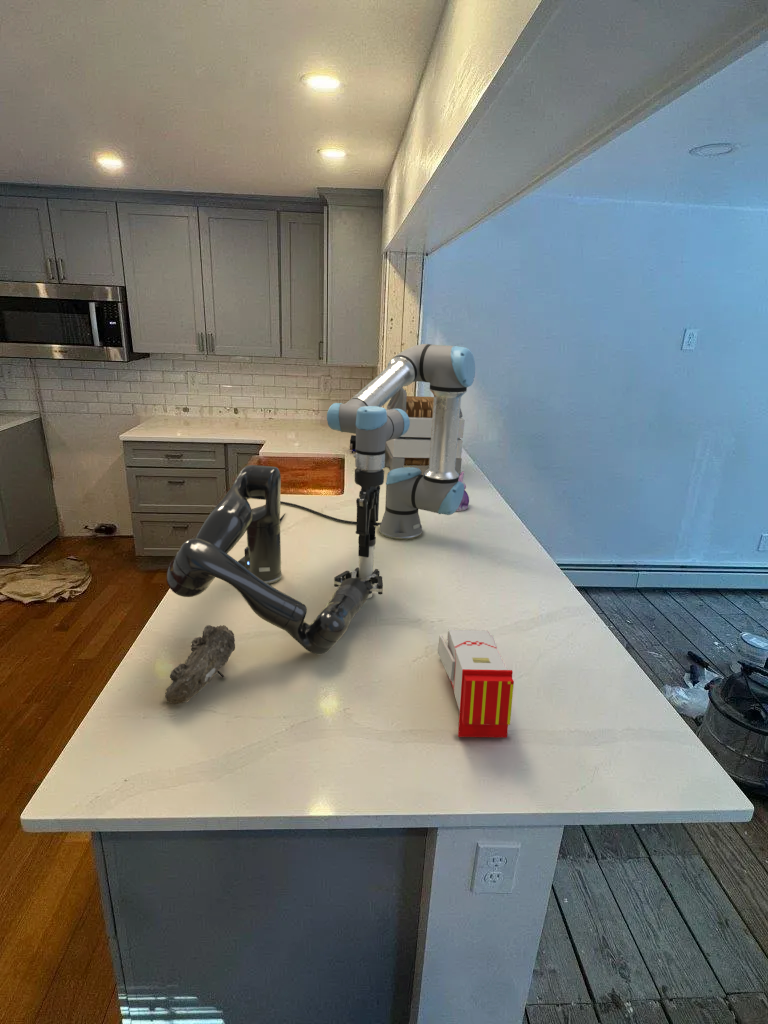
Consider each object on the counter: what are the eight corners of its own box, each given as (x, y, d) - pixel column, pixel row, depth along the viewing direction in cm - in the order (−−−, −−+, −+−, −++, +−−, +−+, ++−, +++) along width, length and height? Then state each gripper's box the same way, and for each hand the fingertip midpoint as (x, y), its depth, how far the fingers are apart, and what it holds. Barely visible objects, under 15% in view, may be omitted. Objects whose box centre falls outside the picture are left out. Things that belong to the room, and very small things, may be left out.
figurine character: (361, 456, 305) (361, 447, 319) (361, 443, 302) (362, 434, 315) (348, 456, 305) (350, 446, 318) (349, 442, 302) (350, 433, 315)
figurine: (455, 513, 222) (459, 476, 217) (441, 505, 231) (444, 469, 226) (475, 510, 226) (479, 474, 221) (460, 502, 235) (464, 467, 230)
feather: (292, 507, 224) (294, 503, 223) (275, 531, 197) (278, 527, 197) (288, 505, 224) (291, 501, 223) (271, 528, 197) (273, 524, 197)
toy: (488, 613, 130) (523, 677, 101) (484, 667, 133) (517, 744, 104) (435, 612, 130) (455, 676, 101) (432, 666, 133) (451, 743, 103)
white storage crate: (382, 463, 289) (386, 382, 275) (445, 464, 293) (451, 384, 279) (390, 482, 257) (394, 392, 243) (460, 483, 261) (468, 394, 247)
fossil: (189, 627, 129) (235, 597, 124) (218, 656, 132) (264, 627, 127) (143, 698, 109) (196, 665, 104) (179, 729, 112) (232, 699, 107)
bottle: (375, 594, 157) (377, 539, 151) (366, 600, 154) (369, 543, 148) (363, 590, 159) (365, 535, 153) (354, 595, 156) (356, 539, 150)
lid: (366, 538, 154) (366, 532, 154) (379, 543, 151) (379, 537, 151) (354, 543, 151) (354, 537, 150) (367, 548, 148) (367, 542, 148)
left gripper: (321, 607, 144) (344, 578, 160) (375, 616, 141) (393, 586, 156) (322, 580, 142) (345, 554, 157) (376, 590, 138) (394, 562, 154)
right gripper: (365, 458, 153) (363, 538, 161) (344, 475, 137) (342, 563, 145) (392, 461, 151) (388, 542, 159) (373, 479, 135) (370, 567, 143)
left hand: (368, 570), depth 157 cm, fingers closed on bottle, 4 cm apart
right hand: (366, 552), depth 152 cm, fingers closed on lid, 5 cm apart
